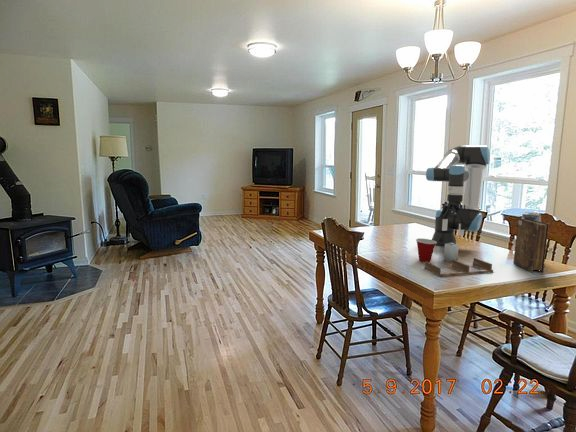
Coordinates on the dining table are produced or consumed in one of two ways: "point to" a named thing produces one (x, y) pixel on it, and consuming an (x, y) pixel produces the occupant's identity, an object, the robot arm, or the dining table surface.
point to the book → (531, 244)
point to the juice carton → (532, 216)
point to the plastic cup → (425, 249)
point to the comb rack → (460, 268)
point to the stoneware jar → (451, 252)
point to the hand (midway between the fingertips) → (452, 233)
